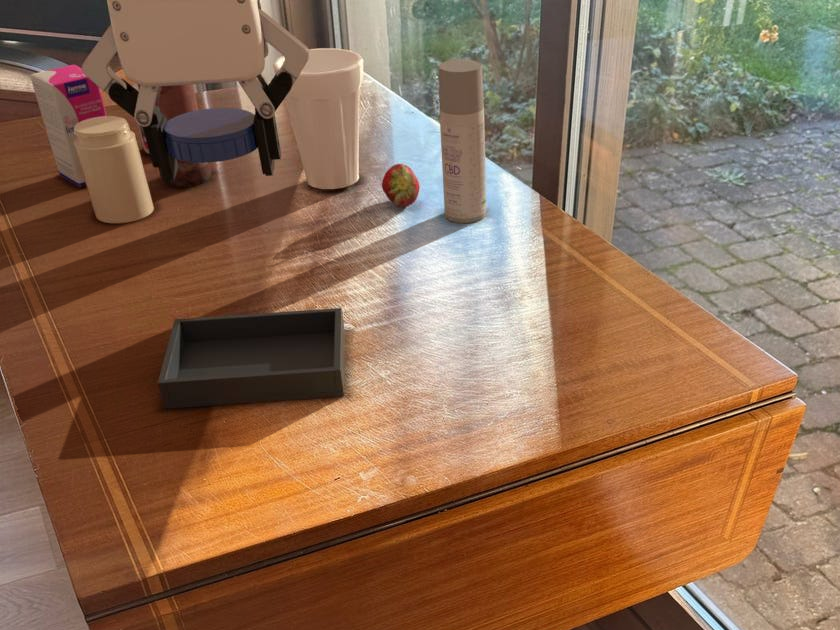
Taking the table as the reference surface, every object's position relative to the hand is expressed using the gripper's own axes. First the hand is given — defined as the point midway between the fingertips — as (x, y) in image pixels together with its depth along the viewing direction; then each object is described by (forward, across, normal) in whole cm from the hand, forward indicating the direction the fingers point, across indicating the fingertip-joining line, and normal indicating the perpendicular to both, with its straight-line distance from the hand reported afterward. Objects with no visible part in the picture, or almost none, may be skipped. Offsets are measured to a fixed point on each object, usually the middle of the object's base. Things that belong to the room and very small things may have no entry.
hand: (220, 170), depth 75 cm
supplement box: (+17, +24, -50) cm, 58 cm away
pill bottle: (+17, +16, -58) cm, 63 cm away
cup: (+17, -6, -43) cm, 47 cm away
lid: (-3, 0, 0) cm, 3 cm away
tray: (+17, 0, 0) cm, 17 cm away
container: (+17, -21, -31) cm, 41 cm away
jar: (+17, +18, -38) cm, 45 cm away
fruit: (+17, -14, -35) cm, 41 cm away
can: (+17, +12, -47) cm, 52 cm away
